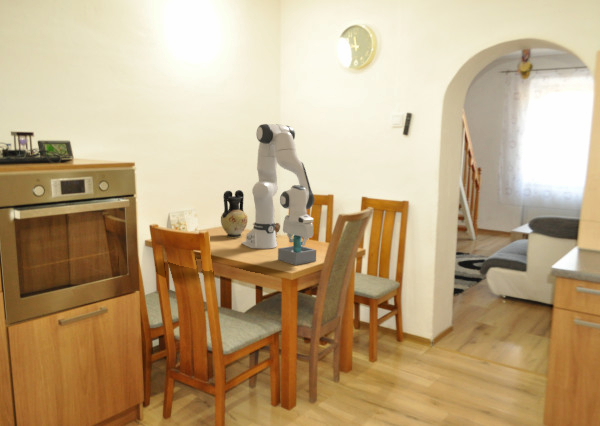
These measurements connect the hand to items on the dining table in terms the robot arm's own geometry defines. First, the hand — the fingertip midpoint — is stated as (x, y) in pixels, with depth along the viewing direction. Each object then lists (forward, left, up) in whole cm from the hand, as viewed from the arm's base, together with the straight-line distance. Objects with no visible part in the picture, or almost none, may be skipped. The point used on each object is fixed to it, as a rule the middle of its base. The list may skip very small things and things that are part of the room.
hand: (297, 243), depth 241 cm
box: (0, 0, -9) cm, 9 cm away
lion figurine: (-57, +28, -9) cm, 65 cm away
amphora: (-72, +9, -9) cm, 73 cm away
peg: (0, 0, -8) cm, 8 cm away
